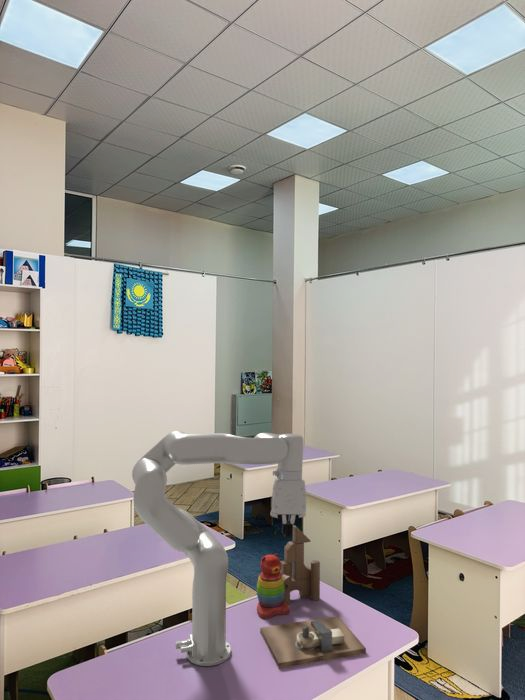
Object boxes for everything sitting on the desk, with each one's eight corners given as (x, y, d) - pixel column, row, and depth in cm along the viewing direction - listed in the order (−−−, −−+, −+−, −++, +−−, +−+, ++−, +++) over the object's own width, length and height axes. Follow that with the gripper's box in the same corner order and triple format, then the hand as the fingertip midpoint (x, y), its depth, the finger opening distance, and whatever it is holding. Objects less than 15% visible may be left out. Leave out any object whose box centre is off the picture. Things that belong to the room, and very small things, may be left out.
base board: (278, 668, 134) (278, 662, 134) (260, 632, 151) (260, 626, 151) (365, 653, 141) (365, 647, 141) (338, 620, 158) (338, 615, 158)
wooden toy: (280, 607, 167) (281, 532, 167) (273, 598, 173) (273, 526, 173) (321, 599, 172) (321, 527, 173) (312, 591, 178) (313, 521, 179)
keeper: (322, 653, 138) (322, 633, 138) (310, 637, 146) (310, 618, 146) (331, 651, 139) (332, 631, 139) (320, 635, 147) (320, 616, 147)
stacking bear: (262, 619, 159) (261, 564, 159) (250, 605, 168) (250, 552, 168) (292, 613, 163) (291, 558, 163) (279, 599, 172) (279, 547, 173)
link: (299, 649, 139) (299, 633, 139) (294, 639, 144) (294, 624, 144) (344, 643, 142) (344, 627, 142) (338, 634, 147) (338, 619, 147)
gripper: (267, 477, 146) (264, 540, 145) (316, 478, 148) (314, 540, 147) (263, 472, 153) (260, 532, 152) (310, 472, 155) (308, 532, 155)
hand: (286, 536), depth 150 cm, fingers closed
